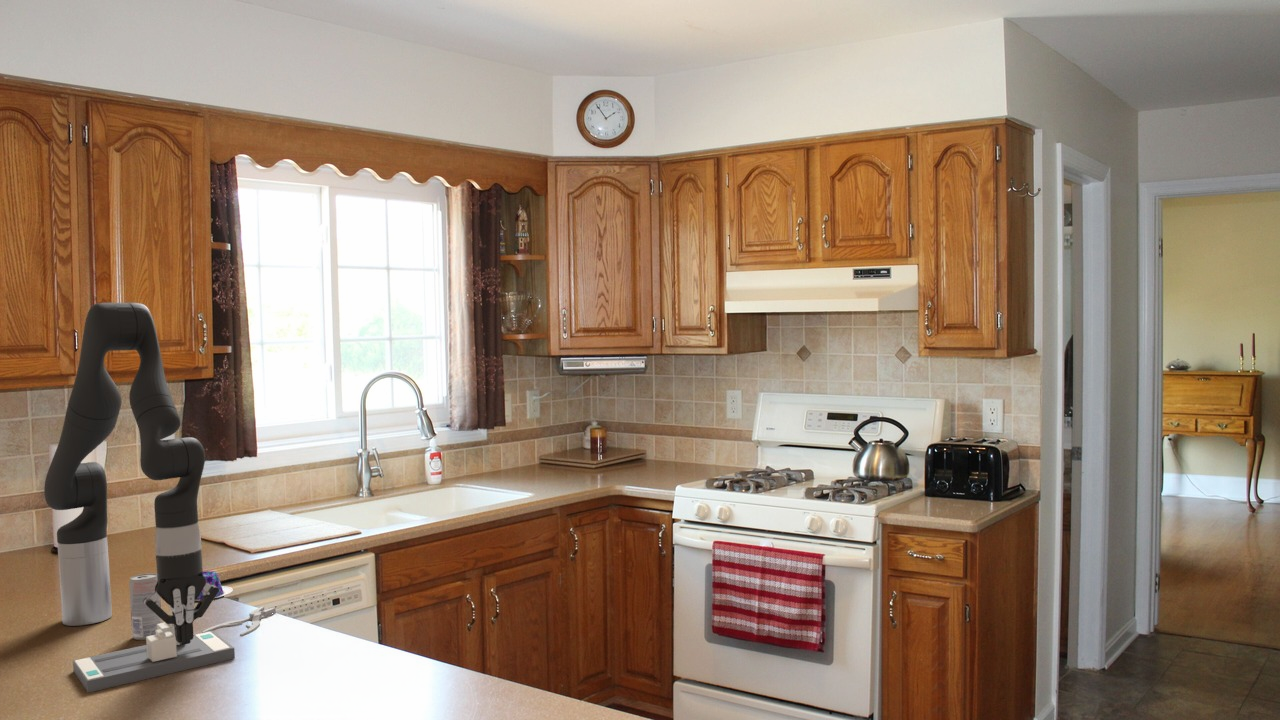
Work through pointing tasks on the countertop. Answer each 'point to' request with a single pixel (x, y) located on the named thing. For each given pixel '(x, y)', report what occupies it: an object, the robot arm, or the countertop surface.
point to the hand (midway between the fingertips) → (184, 643)
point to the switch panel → (149, 662)
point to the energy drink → (143, 606)
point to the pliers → (253, 616)
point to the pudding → (213, 580)
